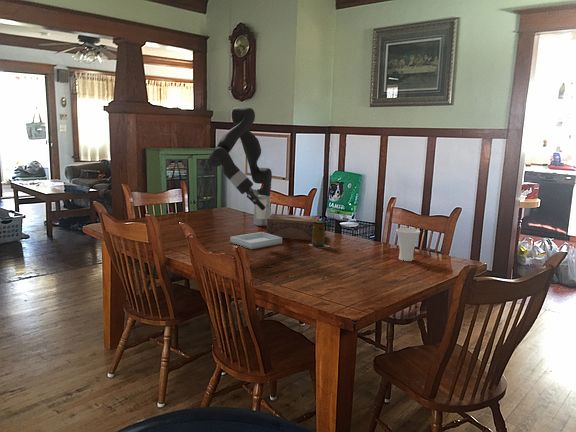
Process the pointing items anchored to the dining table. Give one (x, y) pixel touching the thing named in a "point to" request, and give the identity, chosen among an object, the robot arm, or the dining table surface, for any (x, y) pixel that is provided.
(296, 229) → the tissue box cover
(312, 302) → the dining table surface
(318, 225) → the condiment
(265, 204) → the cylinder
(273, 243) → the tray
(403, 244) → the cup
